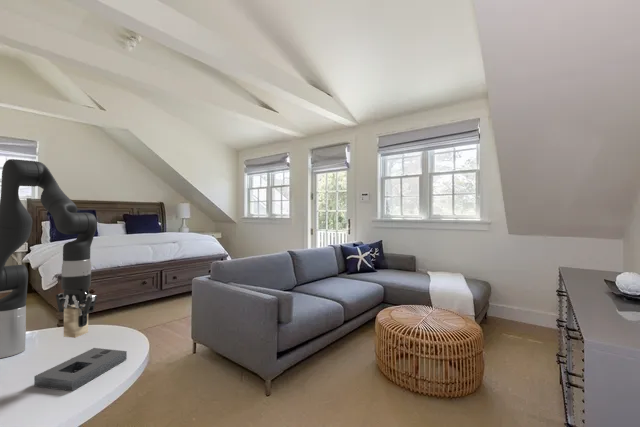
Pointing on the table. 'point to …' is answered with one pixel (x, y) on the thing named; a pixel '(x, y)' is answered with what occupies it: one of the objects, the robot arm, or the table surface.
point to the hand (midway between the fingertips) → (76, 325)
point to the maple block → (73, 323)
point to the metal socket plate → (80, 369)
